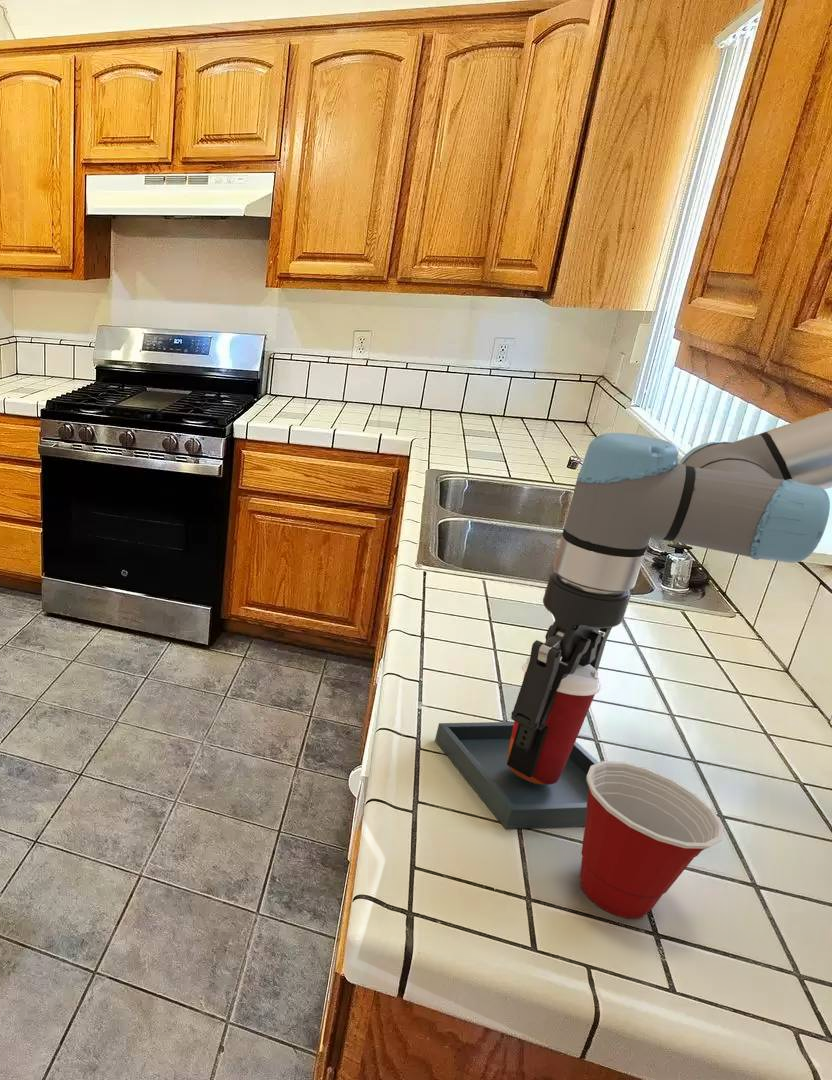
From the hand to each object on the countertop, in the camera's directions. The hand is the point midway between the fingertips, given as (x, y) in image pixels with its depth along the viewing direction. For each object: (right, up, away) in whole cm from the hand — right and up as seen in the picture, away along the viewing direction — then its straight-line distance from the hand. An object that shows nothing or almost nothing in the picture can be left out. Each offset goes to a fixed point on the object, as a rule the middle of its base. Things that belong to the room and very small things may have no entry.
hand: (535, 759), depth 88 cm
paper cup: (0, -1, +1) cm, 2 cm away
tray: (0, -3, +1) cm, 3 cm away
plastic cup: (-1, -9, -15) cm, 17 cm away
